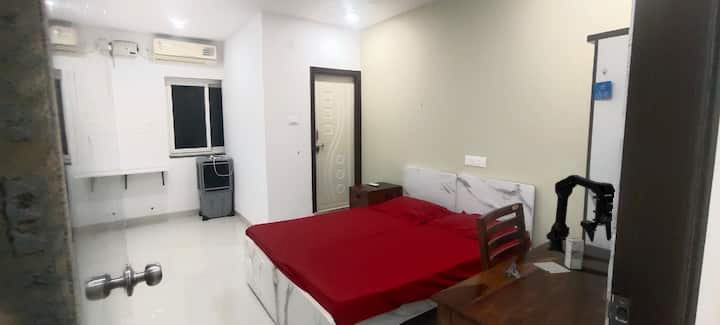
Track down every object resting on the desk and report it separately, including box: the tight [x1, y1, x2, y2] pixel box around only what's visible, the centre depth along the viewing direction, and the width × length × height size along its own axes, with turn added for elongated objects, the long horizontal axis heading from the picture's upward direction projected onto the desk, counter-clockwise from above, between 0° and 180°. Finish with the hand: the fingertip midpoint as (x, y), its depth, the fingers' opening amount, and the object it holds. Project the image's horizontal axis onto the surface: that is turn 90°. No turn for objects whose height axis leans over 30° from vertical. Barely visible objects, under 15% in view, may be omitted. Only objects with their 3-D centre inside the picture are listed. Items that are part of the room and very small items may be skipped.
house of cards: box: [505, 261, 522, 279], centre depth 161 cm, size 9×9×8 cm
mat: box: [533, 261, 572, 274], centre depth 172 cm, size 12×11×1 cm
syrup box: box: [564, 236, 585, 270], centre depth 173 cm, size 6×6×14 cm
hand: (600, 241), depth 169 cm, fingers open, 9 cm apart
